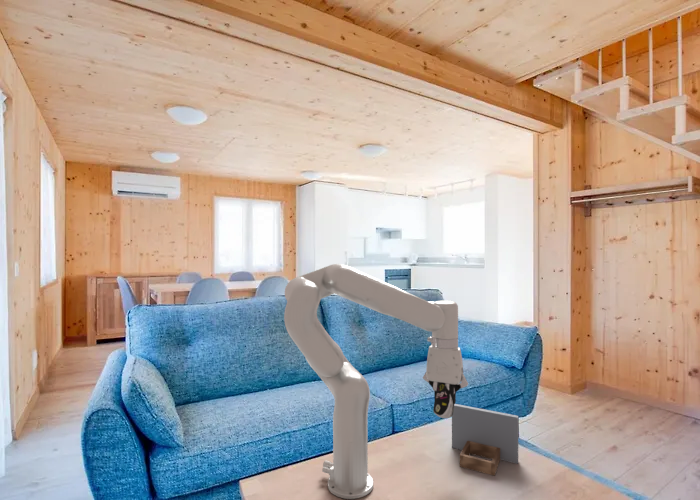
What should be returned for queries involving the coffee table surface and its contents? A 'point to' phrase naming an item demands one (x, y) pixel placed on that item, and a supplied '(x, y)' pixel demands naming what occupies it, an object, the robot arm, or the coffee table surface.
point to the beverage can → (444, 400)
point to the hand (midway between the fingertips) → (444, 403)
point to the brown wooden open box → (479, 463)
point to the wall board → (486, 430)
